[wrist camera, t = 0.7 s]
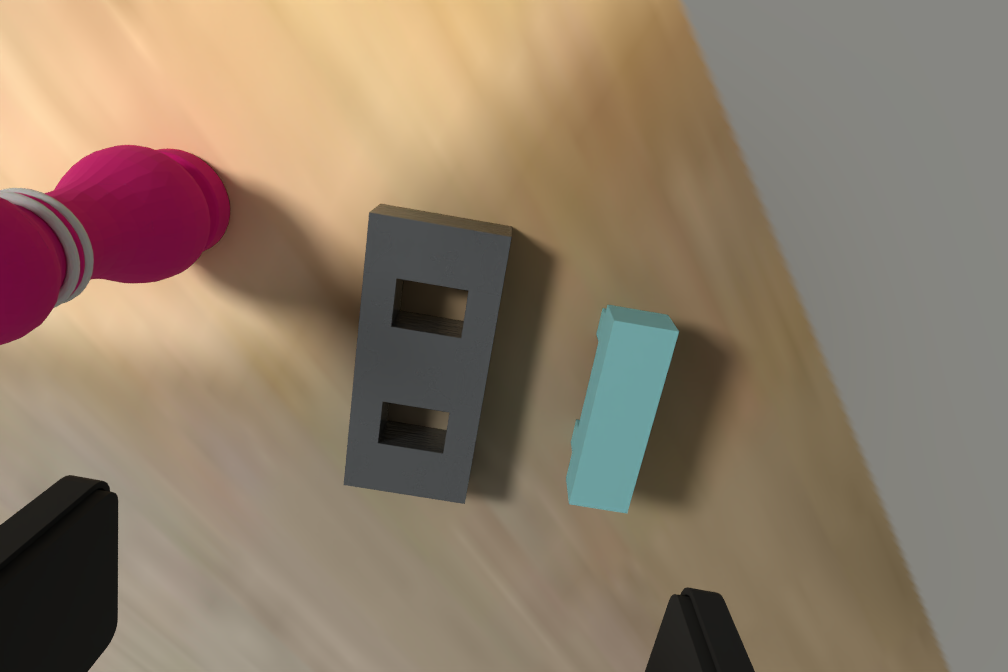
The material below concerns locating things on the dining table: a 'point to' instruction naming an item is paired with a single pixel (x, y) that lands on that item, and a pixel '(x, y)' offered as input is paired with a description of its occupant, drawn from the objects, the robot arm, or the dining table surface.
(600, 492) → the clip
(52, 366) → the dining table surface
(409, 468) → the rail
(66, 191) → the pepper mill
